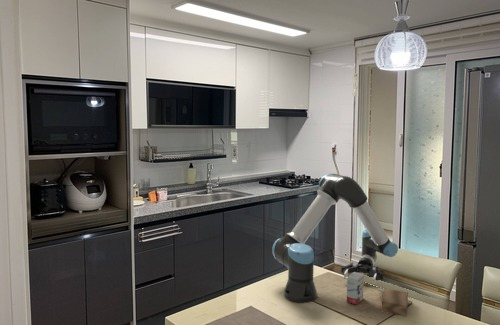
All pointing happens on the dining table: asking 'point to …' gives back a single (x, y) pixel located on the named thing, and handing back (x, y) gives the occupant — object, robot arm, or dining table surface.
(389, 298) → the walnut block
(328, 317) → the dining table surface
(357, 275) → the ink box
